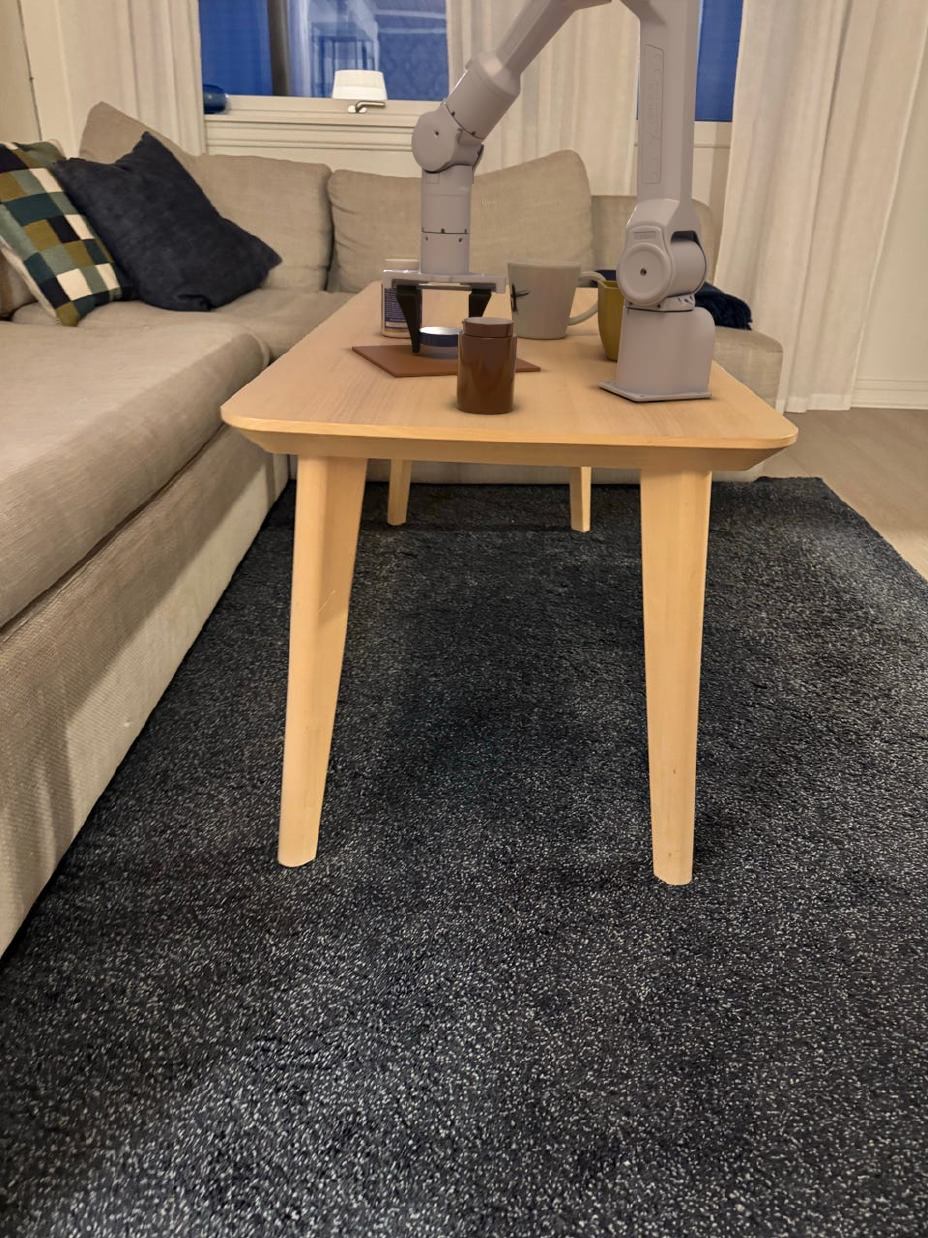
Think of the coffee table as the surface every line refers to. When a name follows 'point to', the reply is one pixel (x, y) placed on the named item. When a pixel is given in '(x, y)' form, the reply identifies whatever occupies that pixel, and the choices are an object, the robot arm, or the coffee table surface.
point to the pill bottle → (390, 309)
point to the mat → (421, 360)
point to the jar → (486, 365)
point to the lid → (439, 336)
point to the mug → (546, 296)
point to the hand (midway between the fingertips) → (442, 352)
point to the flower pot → (610, 316)
